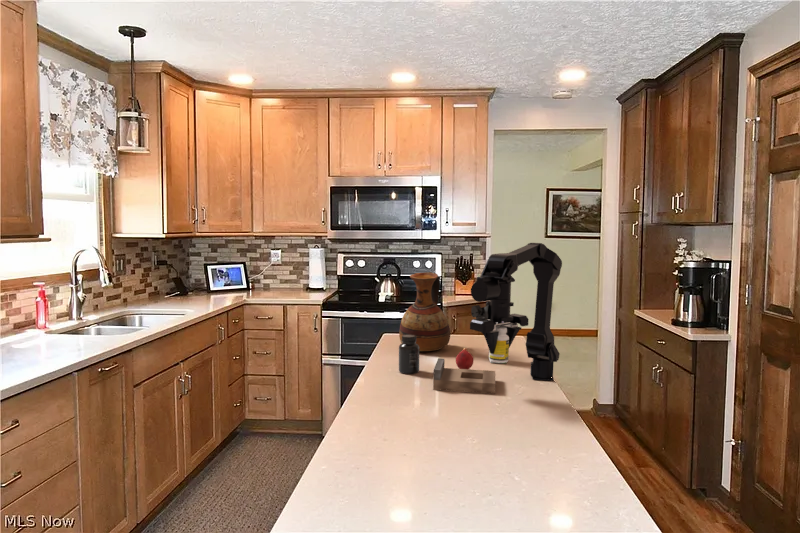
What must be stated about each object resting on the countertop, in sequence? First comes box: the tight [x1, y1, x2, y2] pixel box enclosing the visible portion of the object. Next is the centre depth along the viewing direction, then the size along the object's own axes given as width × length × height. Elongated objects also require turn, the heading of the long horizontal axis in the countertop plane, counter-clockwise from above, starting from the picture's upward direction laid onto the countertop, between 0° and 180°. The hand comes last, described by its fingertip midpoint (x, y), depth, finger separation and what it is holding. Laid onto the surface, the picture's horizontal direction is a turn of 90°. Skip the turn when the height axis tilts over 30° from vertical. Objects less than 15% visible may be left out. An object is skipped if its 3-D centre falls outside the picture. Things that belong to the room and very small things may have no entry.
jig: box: [432, 357, 496, 395], centre depth 170 cm, size 18×14×6 cm
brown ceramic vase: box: [398, 271, 451, 352], centre depth 216 cm, size 20×20×30 cm
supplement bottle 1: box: [398, 335, 420, 375], centre depth 183 cm, size 7×7×12 cm
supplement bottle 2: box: [488, 326, 510, 364], centre depth 160 cm, size 5×5×10 cm
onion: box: [455, 347, 474, 369], centre depth 184 cm, size 6×6×8 cm
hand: (499, 352), depth 160 cm, fingers closed on supplement bottle 2, 5 cm apart
